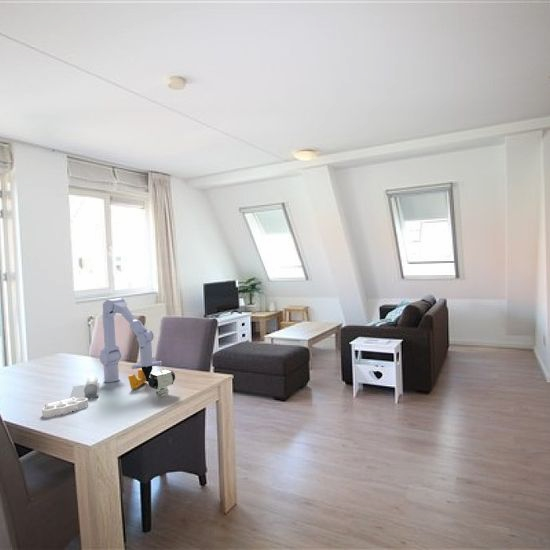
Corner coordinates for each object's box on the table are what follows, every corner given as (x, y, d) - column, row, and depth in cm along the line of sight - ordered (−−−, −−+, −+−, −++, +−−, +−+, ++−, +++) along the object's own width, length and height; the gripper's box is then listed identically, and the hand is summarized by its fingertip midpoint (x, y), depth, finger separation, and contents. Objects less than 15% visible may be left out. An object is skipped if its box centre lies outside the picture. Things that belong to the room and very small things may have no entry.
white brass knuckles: (80, 401, 186) (92, 408, 176) (36, 412, 174) (47, 421, 163) (80, 393, 186) (92, 401, 176) (36, 404, 173) (46, 413, 163)
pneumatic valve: (148, 398, 185) (147, 372, 185) (170, 391, 194) (169, 366, 193) (155, 400, 181) (153, 374, 181) (177, 393, 190) (176, 368, 190)
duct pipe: (73, 388, 204) (72, 376, 204) (99, 384, 209) (98, 372, 208) (69, 402, 184) (68, 388, 183) (98, 397, 188) (97, 384, 188)
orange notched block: (139, 382, 211) (136, 370, 210) (147, 380, 210) (143, 368, 210) (128, 389, 199) (124, 377, 199) (136, 388, 198) (133, 375, 198)
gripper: (131, 358, 200) (133, 385, 201) (161, 354, 205) (163, 380, 206) (130, 355, 206) (132, 381, 207) (160, 351, 212) (161, 377, 213)
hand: (147, 381), depth 207 cm, fingers closed
